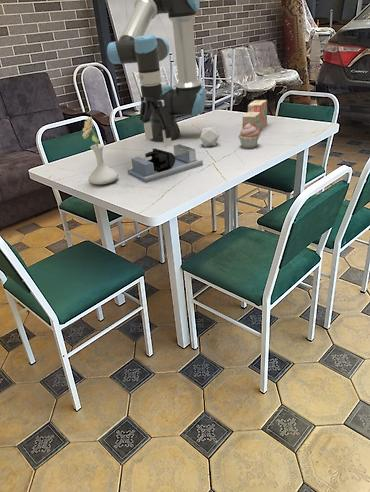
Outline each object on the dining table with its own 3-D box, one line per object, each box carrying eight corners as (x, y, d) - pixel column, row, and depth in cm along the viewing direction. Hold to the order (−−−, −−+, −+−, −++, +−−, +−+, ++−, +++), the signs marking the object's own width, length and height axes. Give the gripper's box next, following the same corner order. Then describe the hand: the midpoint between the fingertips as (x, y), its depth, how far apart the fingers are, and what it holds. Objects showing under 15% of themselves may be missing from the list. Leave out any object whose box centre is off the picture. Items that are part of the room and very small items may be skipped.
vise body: (128, 174, 167) (125, 158, 164) (183, 157, 179) (181, 143, 176) (146, 183, 157) (143, 166, 154) (202, 165, 168) (201, 149, 165)
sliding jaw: (174, 157, 175) (173, 145, 172) (185, 154, 177) (184, 142, 175) (190, 163, 167) (188, 151, 164) (201, 160, 169) (200, 147, 167)
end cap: (176, 167, 165) (174, 150, 161) (162, 173, 161) (160, 155, 157) (160, 163, 171) (158, 146, 168) (146, 168, 168) (144, 151, 164)
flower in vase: (91, 178, 167) (77, 112, 155) (120, 174, 167) (108, 109, 155) (86, 190, 155) (71, 121, 143) (117, 187, 156) (105, 117, 143)
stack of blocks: (255, 137, 196) (255, 109, 190) (242, 136, 199) (241, 109, 193) (267, 124, 213) (267, 99, 207) (254, 124, 215) (254, 99, 209)
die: (213, 150, 186) (223, 130, 184) (195, 141, 185) (205, 121, 184) (212, 151, 194) (222, 132, 192) (195, 143, 193) (205, 123, 192)
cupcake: (261, 148, 180) (261, 124, 175) (239, 150, 180) (239, 126, 175) (258, 142, 188) (258, 119, 183) (237, 144, 188) (236, 121, 184)
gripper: (125, 82, 158) (134, 138, 169) (160, 89, 140) (167, 152, 151) (142, 78, 162) (150, 134, 173) (179, 85, 143) (185, 146, 154)
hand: (158, 142), depth 162 cm, fingers open, 13 cm apart
